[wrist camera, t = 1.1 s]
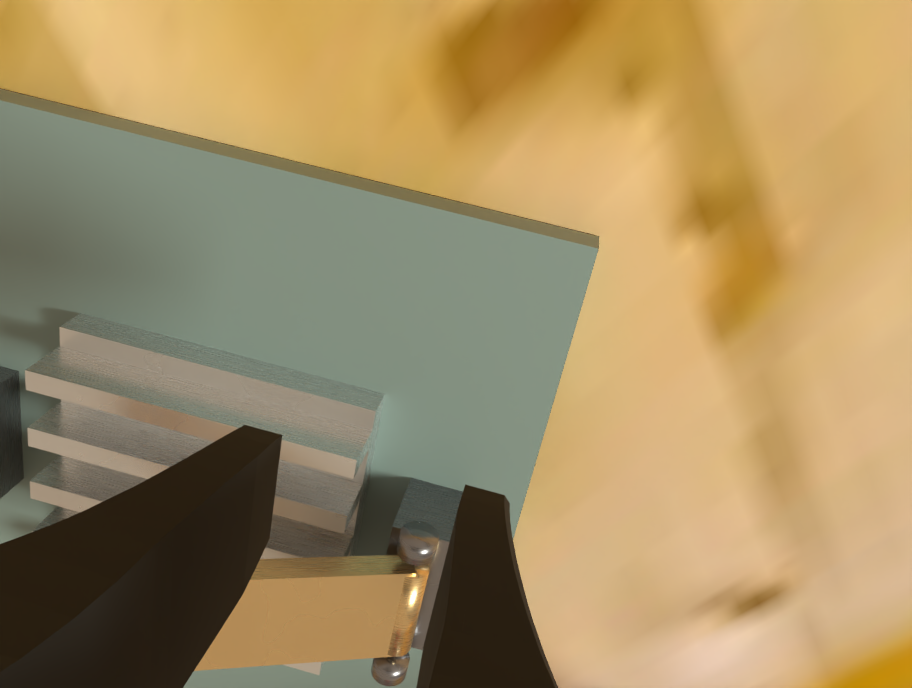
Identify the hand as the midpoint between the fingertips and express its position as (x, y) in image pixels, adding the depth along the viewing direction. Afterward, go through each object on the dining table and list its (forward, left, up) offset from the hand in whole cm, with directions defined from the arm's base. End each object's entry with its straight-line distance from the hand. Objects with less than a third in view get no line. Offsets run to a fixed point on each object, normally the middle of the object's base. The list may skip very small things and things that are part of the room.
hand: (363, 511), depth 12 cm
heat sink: (-8, +6, -9) cm, 14 cm away
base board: (-8, +6, -10) cm, 14 cm away
